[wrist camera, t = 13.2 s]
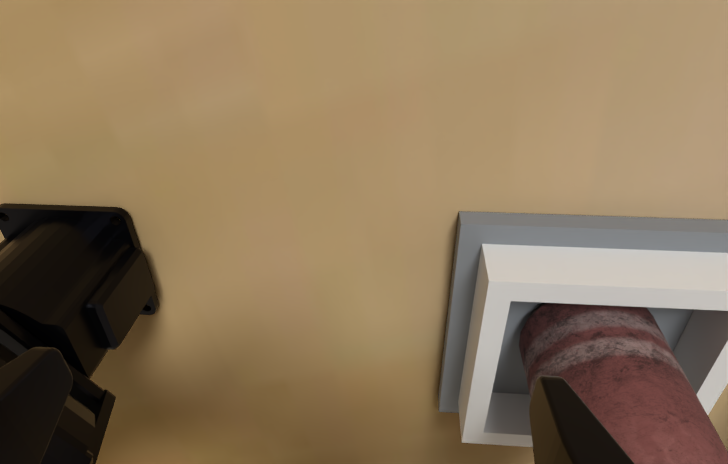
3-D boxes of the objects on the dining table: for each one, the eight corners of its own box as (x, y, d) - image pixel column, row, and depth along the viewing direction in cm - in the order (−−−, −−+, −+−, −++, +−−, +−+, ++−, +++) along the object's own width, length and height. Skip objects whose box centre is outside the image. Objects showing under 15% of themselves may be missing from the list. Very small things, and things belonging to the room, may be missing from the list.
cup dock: (438, 397, 30) (440, 452, 27) (459, 211, 22) (465, 260, 19) (667, 410, 29) (695, 469, 26) (769, 221, 21) (824, 274, 18)
